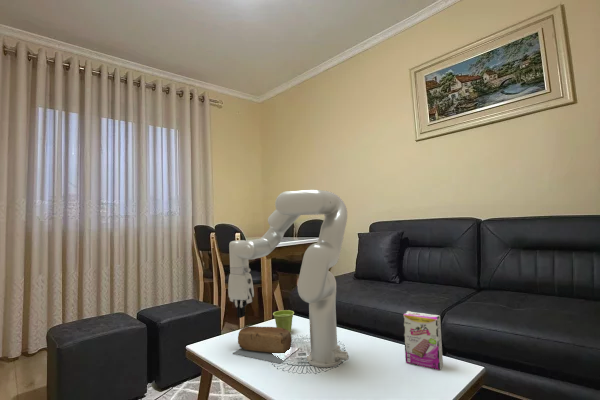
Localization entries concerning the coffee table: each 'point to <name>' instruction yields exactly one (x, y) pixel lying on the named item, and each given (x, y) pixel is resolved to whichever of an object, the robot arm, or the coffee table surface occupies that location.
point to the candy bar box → (423, 340)
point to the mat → (258, 355)
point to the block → (265, 339)
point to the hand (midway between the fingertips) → (241, 316)
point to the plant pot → (284, 319)
